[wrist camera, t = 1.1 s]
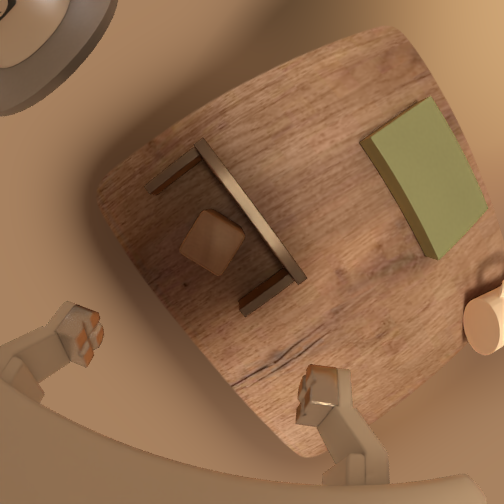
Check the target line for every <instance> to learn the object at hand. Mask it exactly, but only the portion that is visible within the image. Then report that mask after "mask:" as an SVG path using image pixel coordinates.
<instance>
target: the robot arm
mask: <svg viewBox="0 0 504 504" xmlns="http://www.w3.org/2000/svg"><path fill="white" fill-rule="evenodd" d="M69 3H70V0H0V68H8V67H12V66H14V65H17V64H19V63H20V62H22V61H24V60H25V59H27V58H28V57H29V56H31V55H32V54H33V53H34V52H36V51H37V50H38V49H39V48H40V47H41V46H42V45H43V44H44V43H45V42H46V41H47V40H48V39H49V37H50V36H51V35H52V34H53V33H54V31H55V30H56V29H57V27H58V26H59V24H60V23H61V21H62V20H63V18H64V16H65V14H66V12H67V9H68V6H69ZM99 320H100V316H99V313H98V312H96V311H93V310H90V309H87V308H85V307H82V306H80V305H77V304H75V303H72V302H69V301H66V302H64V303H63V304H62V306H61V307H60V308H59V309H58V311H57V312H56V313H55V315H54V316H53V317H52V318H51V320H50V321H49V322H48V324H47V325H46V326H45V327H43V326H42V327H40V328H37V329H35V330H33V331H31V332H29V333H27V334H25V335H23V336H21V337H19V338H16V339H14V340H12V341H10V342H8V343H6V344H4V345H2V346H0V504H487V500H486V496H485V494H484V493H483V491H482V490H481V489H480V487H479V486H478V485H477V484H476V483H475V482H474V480H473V479H472V478H471V477H470V476H469V475H466V474H458V475H453V476H448V477H442V478H436V479H430V480H422V481H415V482H406V483H396V484H389V460H388V452H387V451H386V449H385V448H384V446H383V445H382V443H381V442H380V441H379V439H378V438H377V436H376V435H375V434H374V432H373V431H372V429H371V428H370V427H369V425H368V424H367V422H366V421H365V419H364V418H363V417H362V415H361V414H360V412H359V411H358V410H357V408H353V403H352V385H351V372H350V370H349V369H341V368H335V367H328V366H321V365H313V364H310V365H308V367H307V369H306V375H304V376H303V377H302V379H301V382H300V385H299V390H298V400H299V402H300V404H299V406H298V407H297V412H296V424H299V425H306V426H314V427H317V429H318V431H319V433H320V435H321V437H322V439H323V441H324V443H325V445H326V447H327V449H328V451H329V453H330V454H331V456H332V458H333V460H334V462H335V464H336V465H334V466H333V467H332V468H330V469H329V470H327V471H326V472H325V473H323V477H322V485H312V484H298V483H288V482H278V481H270V480H262V479H256V478H249V477H243V476H238V475H232V474H227V473H222V472H218V471H213V470H208V469H204V468H200V467H196V466H192V465H189V464H185V463H181V462H178V461H174V460H171V459H168V458H164V457H161V456H158V455H154V454H152V453H149V452H146V451H143V450H140V449H137V448H134V447H132V446H129V445H127V444H124V443H121V442H119V441H116V440H114V439H112V438H109V437H107V436H104V435H102V434H100V433H97V432H95V431H93V430H91V429H89V428H86V427H84V426H82V425H80V424H78V423H76V422H74V421H72V420H70V419H68V418H66V417H64V416H62V415H60V414H58V413H56V412H55V411H53V410H51V409H49V408H47V407H45V406H44V405H42V404H40V402H41V400H42V398H43V396H44V391H43V390H42V389H41V387H40V386H39V384H38V383H40V382H41V381H43V380H44V379H46V378H47V377H49V376H50V375H52V374H53V373H55V372H56V371H58V370H59V369H61V368H62V367H64V366H65V365H67V364H68V363H70V361H71V362H74V363H76V364H79V365H81V366H84V367H88V365H89V363H90V362H91V360H92V358H93V356H94V352H93V350H95V349H97V348H99V346H100V344H101V342H102V340H103V336H104V329H103V326H102V325H101V324H100V323H99Z"/></svg>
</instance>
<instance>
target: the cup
mask: <svg viewBox="0 0 504 504" xmlns="http://www.w3.org/2000/svg"><path fill="white" fill-rule="evenodd" d="M463 326H464V331H465V335H466V338H467V340H468V342H469V344H470V345H471V347H472V348H473V349H474V350H475V351H476V352H477V353H479V354H481V355H489V354H491V353H493V352H494V351H496V350H498V349H499V348H501V347H502V346H504V280H503V281H502V285H501V286H500V287H498V288H496V289H494V290H492V291H490V292H487V293H485V294H483V295H481V296H479V297H477V298H475V299H473V300H471V301H470V302H469V303H468V304H467V306H466V307H465V310H464V315H463Z"/></svg>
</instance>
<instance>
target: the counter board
mask: <svg viewBox="0 0 504 504" xmlns="http://www.w3.org/2000/svg"><path fill="white" fill-rule="evenodd" d="M359 143H360V144H361V146H362V147H363V149H364V150H365V152H366V153H367V155H368V156H369V158H370V159H371V161H372V162H373V164H374V165H375V167H376V169H377V170H378V172H379V173H380V175H381V177H382V178H383V180H384V181H385V183H386V185H387V186H388V188H389V190H390V191H391V193H392V195H393V197H394V198H395V200H396V202H397V203H398V205H399V207H400V209H401V210H402V212H403V214H404V216H405V218H406V220H407V221H408V223H409V225H410V227H411V229H412V231H413V233H414V235H415V237H416V238H417V240H418V242H419V244H420V246H421V248H422V250H423V252H424V254H425V256H426V257H430V258H433V259H436V260H440V259H441V258H442V257H443V256H444V255H445V254H446V253H447V252H448V251H449V250H450V249H451V248H452V247H453V246H454V245H455V244H456V243H457V242H458V241H459V240H460V239H461V238H462V237H463V236H464V235H465V233H466V232H467V231H468V230H469V229H470V228H471V227H472V226H473V225H474V224H475V223H476V222H477V220H478V219H479V218H480V217H481V216H482V215H483V214H484V213H485V211H486V210H487V209H488V207H487V204H486V201H485V199H484V197H483V194H482V192H481V189H480V187H479V185H478V182H477V180H476V178H475V176H474V174H473V171H472V169H471V167H470V165H469V163H468V161H467V159H466V157H465V155H464V153H463V151H462V149H461V147H460V145H459V143H458V141H457V139H456V138H455V136H454V134H453V132H452V130H451V129H450V127H449V125H448V123H447V122H446V120H445V118H444V116H443V115H442V113H441V112H440V110H439V108H438V107H437V105H436V103H435V102H434V100H433V99H432V97H431V96H429V97H427V98H425V99H423V100H421V101H419V102H417V103H416V104H414V105H413V106H411V107H410V108H408V109H407V110H405V111H404V112H402V113H401V114H399V115H398V116H396V117H395V118H394V119H392V120H391V121H389V122H388V123H386V124H385V125H383V126H382V127H380V128H379V129H378V130H376V131H375V132H373V133H372V134H370V135H369V136H368V137H366V138H365V139H363V140H362V141H360V142H359Z"/></svg>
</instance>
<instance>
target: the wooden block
mask: <svg viewBox="0 0 504 504" xmlns="http://www.w3.org/2000/svg"><path fill="white" fill-rule="evenodd" d="M244 239H245V234H244V232H243V230H242V228H241V227H240V226H239V225H238V224H236V223H234V222H233V221H231V220H230V219H228V218H226V217H225V216H223V215H222V214H220V213H218V212H217V211H215V210H213V209H206V210H203V211H202V212H201V213H200V214H199V216H198V217H197V219H196V221H195V222H194V224H193V226H192V227H191V229H190V231H189V232H188V234H187V236H186V237H185V239H184V241H183V242H182V244H181V246H180V249H179V251H180V253H181V254H182V255H184V256H185V257H187V258H189V259H190V260H192V261H194V262H195V263H197V264H198V265H200V266H202V267H203V268H205V269H207V270H208V271H210V272H212V273H213V274H215V275H218V276H220V275H222V274H223V273H224V271H225V270H226V268H227V266H228V265H229V263H230V262H231V260H232V258H233V257H234V255H235V254H236V252H237V250H238V249H239V247H240V246H241V244H242V242H243V241H244Z"/></svg>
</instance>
